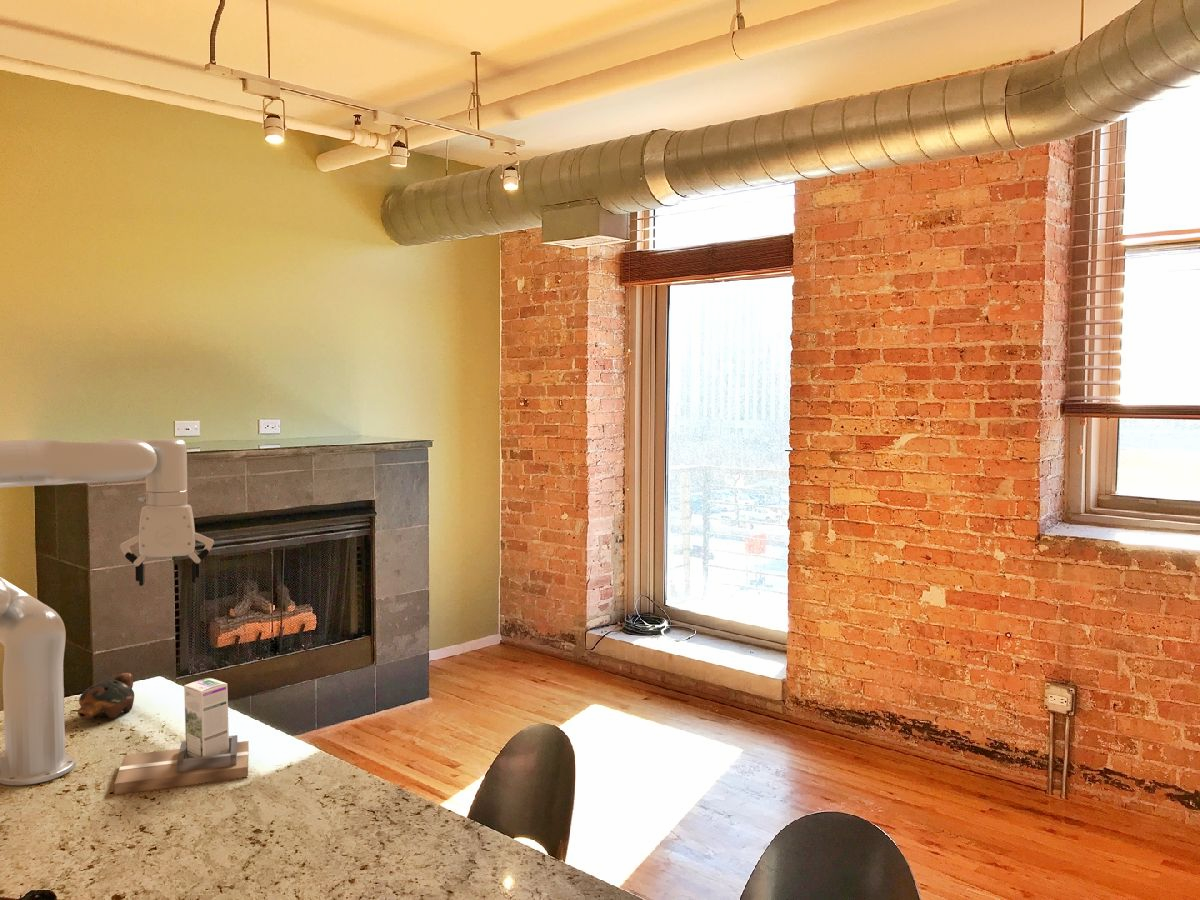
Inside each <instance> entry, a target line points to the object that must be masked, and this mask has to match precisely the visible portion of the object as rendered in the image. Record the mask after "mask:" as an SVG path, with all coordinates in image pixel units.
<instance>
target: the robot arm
mask: <svg viewBox="0 0 1200 900" xmlns="http://www.w3.org/2000/svg"><path fill="white" fill-rule="evenodd" d="M187 451H188V450H187V444H186V442H185V440H183V439H182V438H174V437H173V438H169V437H168V438H167V437H165V438H163V437H161V438H151V439H134V438H124V437H123V438H122V437H117V438H114V439H113V438H112V439H111V440H108V441H107V442H105V441H104V442H99V441H98V442H83V441H82V442H80V441H79V442H78V441H65V440H59V439H47V438H46V439H45V438H41V439H40V438H36V439H35V438H34V439H18V440H14V439H13V440H0V489H3V488H20V487H34V486H35V487H37V486H60V485H61V486H62V485H70V484H71V485H73V484H90V483H91V484H94V483H110V482H112V483H113V482H126V481H135V480H136V481H137V480H141V479H144V478H145V492H144V493H142V494H140V493H139V494H138V495H137V501H138V502H144V503H145V506H143V507H141V511H140V517H139V524H138V525H139V529H138V530H139V531H138V534H137V535H135V536H134V537H132V538H129V539H128V540H126V541H124V542H122V543H120V544H119V549H120V550H121V552H122V554H123V555H124V557H125V559H127V560H128V561H129V562H130V563H132V565H133V566H134V567H135V582H138V586H139V587H142V586H144V585H145V583H146V578H145V577H146V576H145V575H146V569H145V566H146V565H145V563H144V561H145V560H146V558H160V557H162V558H165V557H182V556H183V557H184V556H187V557H189V558H190V559H191V560H192V562H191V583H193V584H196V582H197V579H199V578H200V577H201V568H200V565H201V562H202V561H203V559H205V558H206V557H207V556H208V555H209V553H210V551H211V549H212V548H213V545H214V544H215V540H214V539H213V538H210V537H207V536H206V535H203V534H200V533H198V532H196V529H195V520H194V513H193V508H192V505H191V504H188V454H187ZM196 541H198V542H200V543H202V544H204V548H203V549H202V550H200V552H197V551H196V548H195V547H196ZM137 543H138V552H139V555H138V556H137V555H136V554H134V552H132V551H131V549H130V547H132V546H134V545H136V544H137ZM66 633H67V632H66V627H65V623H64V621H63V619H62V617H61V615H59V613H58V612H57V611H56V610H55V609H53V608H52V607H50V606H49V605H47V604H45V603H43V602H42V601H40V600H39V599H37V598H36V597H33V596H32V595H30V594H29V593H27V592H26V591H24V590H23V589H21V588H19V587H18V586H16V585H14V584H13V583H11V582H9V581H8V580H6V579H5V578H3V577H1V576H0V643H1V645H2V646H3V651H4V655H3V656H4V657H3V658H4V659H3V668H2V697H3V698H2V699H3V727H4V730H3V731H4V733H3V734H4V750H2V751H0V784H2V785H5V786H26V785H27V786H28V785H34V784H39V783H44V782H48V781H52V780H55V779H58V778H60V777H63V776H64V775H66V774H68V773H69V772H71V771H72V770H73V769H74V767H75V765H76V758H75V757H74V756H73V755H72V754H69V753H66V725H65V724H66V723H65V721H66V720H65V688H64V659H65V649H66V636H67V635H66Z"/></svg>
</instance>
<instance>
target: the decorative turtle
mask: <svg viewBox="0 0 1200 900" xmlns="http://www.w3.org/2000/svg"><path fill="white" fill-rule="evenodd" d="M133 687H134V677H133V675H132V673H130V672H121V673H120V674H118V675H116V677H115V678H114V679H105V680H102V681H98V682H96V683H95V684H92V685H91V686H89V687H88V688H87V689H85V691H83V692H82V693H81V695H80V697H79V699H78V704H79V706H80V708H78V710H77V716H78V717H79V718H80V719H81V720H84V721H86V720H90V719H92V718H93V717H94V718H96V717H98V716H99V715H100V714H101V713H105V714H106V715H107V717H109V718H110V719H111V720H115V719H116V718H117V717H119V716H120V714H121V713H122V712H124V713H129V712H130V711H131V710H133V707H134V702H135V691H134V689H133ZM94 718H93V719H94Z"/></svg>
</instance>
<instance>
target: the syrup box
mask: <svg viewBox="0 0 1200 900" xmlns="http://www.w3.org/2000/svg"><path fill="white" fill-rule="evenodd" d="M183 690H184V691H183V692H184V721H185V722H184V723H185V724H184V725H185V726H184V727H185V728H184V729H185V741H186V759H187V758H196V757H204V756H212V755H221V754H229V736H230V734H229V733H230V732H229V728H230V727H229V700H228V698H229V695H228V693H229V692H228V683H226V682H223V681H221V680H218V679H215V678H212V677H207V678H206V677H205V678H202V679H199V680H196V681H193V682H190V683H187V684H184V689H183Z"/></svg>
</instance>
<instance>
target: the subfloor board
mask: <svg viewBox="0 0 1200 900" xmlns="http://www.w3.org/2000/svg"><path fill="white" fill-rule="evenodd" d="M248 752H249V740H246V741H238V735H229V754H221V755H212V756H204V757H196V758H187V759H186V740H184V741H183V740H182V741H181V742H180V747H179V748H176V749H175V748H174V749H168V750H158V751H157V750H156V751H149V752H141V753H131V754H124V756H123V759H122V761H121V765H120V766H119V769H118V772H117V775H116V777H115V778H116V779H115V780H114V787H113V788H114V795H122V794H128V793H137V792H144V791H152V790H160V789H166V788H167V789H169V788H177V787H184V786H191V785H193V786H194V785H199V783H200V784H206V783H205V782H208V783H213V782H212V781H216V782H221V781H222V780H224V781H228V779H231V780H237V779H236V778H239V779H242V778H241V777H247V776H248V777H249V754H248ZM248 777H247V778H248ZM222 782H223V781H222Z"/></svg>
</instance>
